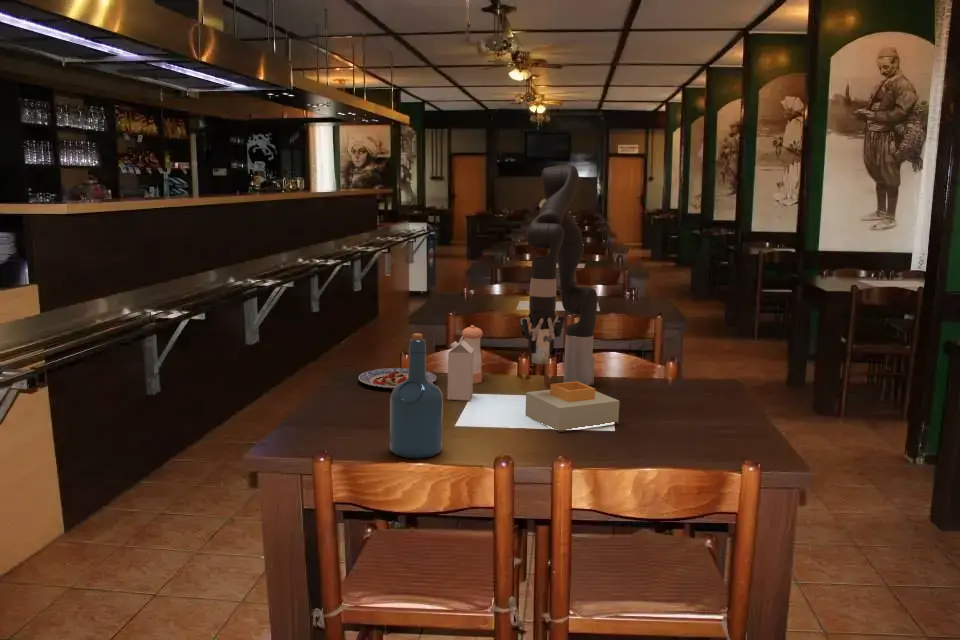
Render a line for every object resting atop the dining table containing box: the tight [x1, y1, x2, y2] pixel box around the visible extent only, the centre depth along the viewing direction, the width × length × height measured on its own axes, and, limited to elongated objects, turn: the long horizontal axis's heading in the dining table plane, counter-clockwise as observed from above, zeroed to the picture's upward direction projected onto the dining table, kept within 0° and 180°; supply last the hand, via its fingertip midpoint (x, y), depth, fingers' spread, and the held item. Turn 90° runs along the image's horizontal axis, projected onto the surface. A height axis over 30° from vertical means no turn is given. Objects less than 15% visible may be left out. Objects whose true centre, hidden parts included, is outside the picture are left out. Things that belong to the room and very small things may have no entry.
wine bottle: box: [389, 332, 444, 459], centre depth 206 cm, size 14×13×30 cm
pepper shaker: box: [461, 324, 484, 384], centre depth 281 cm, size 7×7×19 cm
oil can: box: [531, 328, 552, 365], centre depth 238 cm, size 7×5×10 cm
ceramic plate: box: [358, 367, 437, 390], centre depth 277 cm, size 26×26×3 cm
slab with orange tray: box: [524, 381, 620, 430], centre depth 239 cm, size 20×19×10 cm
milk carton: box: [447, 336, 474, 401], centre depth 259 cm, size 7×7×19 cm
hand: (540, 352), depth 239 cm, fingers closed on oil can, 5 cm apart
